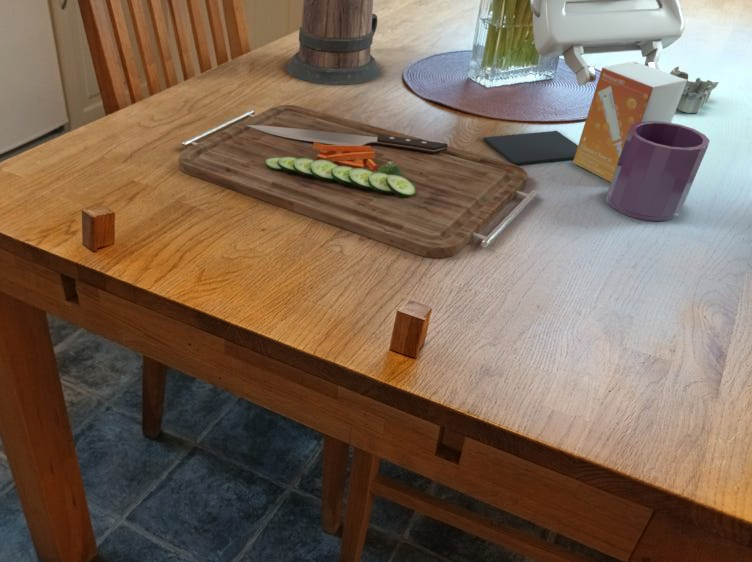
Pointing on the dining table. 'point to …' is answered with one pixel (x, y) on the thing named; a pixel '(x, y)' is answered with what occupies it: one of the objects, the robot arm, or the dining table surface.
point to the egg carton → (693, 92)
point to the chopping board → (360, 177)
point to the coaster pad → (534, 147)
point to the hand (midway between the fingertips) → (619, 81)
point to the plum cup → (656, 170)
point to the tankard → (336, 42)
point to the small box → (624, 112)
